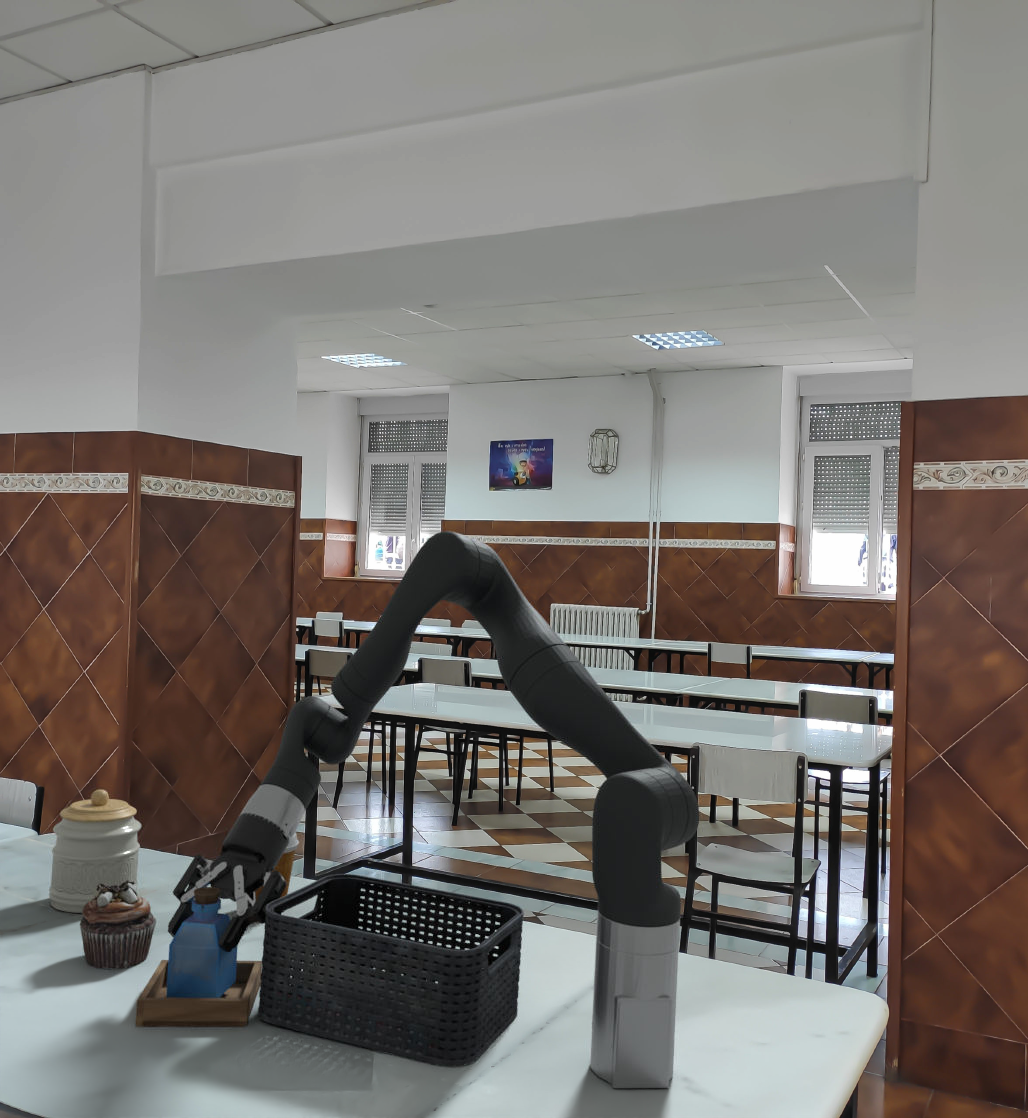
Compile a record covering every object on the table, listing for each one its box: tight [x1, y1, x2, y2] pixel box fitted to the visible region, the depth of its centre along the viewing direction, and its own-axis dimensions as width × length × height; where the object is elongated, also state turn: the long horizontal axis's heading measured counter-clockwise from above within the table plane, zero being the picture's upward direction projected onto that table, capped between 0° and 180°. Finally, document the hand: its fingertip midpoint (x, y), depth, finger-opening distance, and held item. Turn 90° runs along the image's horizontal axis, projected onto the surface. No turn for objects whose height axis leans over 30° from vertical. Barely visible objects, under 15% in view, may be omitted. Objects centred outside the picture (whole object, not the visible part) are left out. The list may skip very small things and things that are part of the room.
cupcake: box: [79, 880, 157, 970], centre depth 138 cm, size 10×10×10 cm
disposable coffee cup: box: [255, 832, 300, 901], centre depth 160 cm, size 10×10×12 cm
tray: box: [134, 959, 262, 1028], centre depth 124 cm, size 13×13×3 cm
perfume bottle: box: [167, 886, 239, 998], centre depth 125 cm, size 6×6×12 cm
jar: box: [48, 789, 142, 914], centre depth 160 cm, size 13×13×18 cm
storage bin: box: [257, 873, 525, 1068], centre depth 124 cm, size 29×19×13 cm
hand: (198, 942), depth 123 cm, fingers closed on perfume bottle, 7 cm apart
